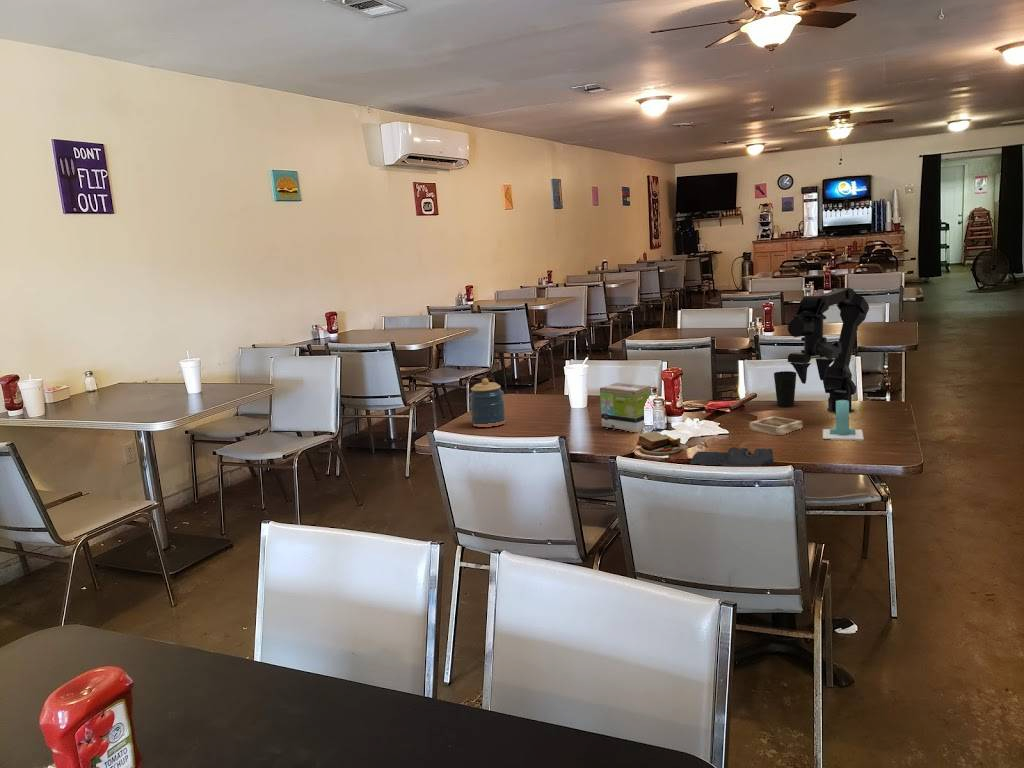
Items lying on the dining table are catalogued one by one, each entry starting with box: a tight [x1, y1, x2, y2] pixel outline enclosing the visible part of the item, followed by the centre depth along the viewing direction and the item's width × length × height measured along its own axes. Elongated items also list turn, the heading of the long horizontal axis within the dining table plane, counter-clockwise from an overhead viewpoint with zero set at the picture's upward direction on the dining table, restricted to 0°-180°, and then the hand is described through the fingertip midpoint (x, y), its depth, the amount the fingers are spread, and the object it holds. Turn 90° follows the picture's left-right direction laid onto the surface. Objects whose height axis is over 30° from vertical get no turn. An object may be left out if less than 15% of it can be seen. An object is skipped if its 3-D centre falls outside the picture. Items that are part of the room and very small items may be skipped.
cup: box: [773, 370, 797, 408], centre depth 271 cm, size 8×8×12 cm
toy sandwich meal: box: [636, 431, 683, 456], centre depth 227 cm, size 12×14×5 cm
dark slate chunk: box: [689, 446, 774, 466], centre depth 207 cm, size 15×22×5 cm
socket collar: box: [749, 415, 804, 436], centre depth 240 cm, size 11×11×2 cm
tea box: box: [599, 382, 652, 431], centre depth 257 cm, size 15×10×15 cm, turn 45°
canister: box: [468, 377, 507, 424], centre depth 279 cm, size 13×13×18 cm
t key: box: [829, 400, 856, 435], centre depth 226 cm, size 4×7×10 cm, turn 68°
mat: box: [822, 428, 865, 442], centre depth 227 cm, size 11×11×1 cm
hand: (813, 381), depth 246 cm, fingers open, 9 cm apart
